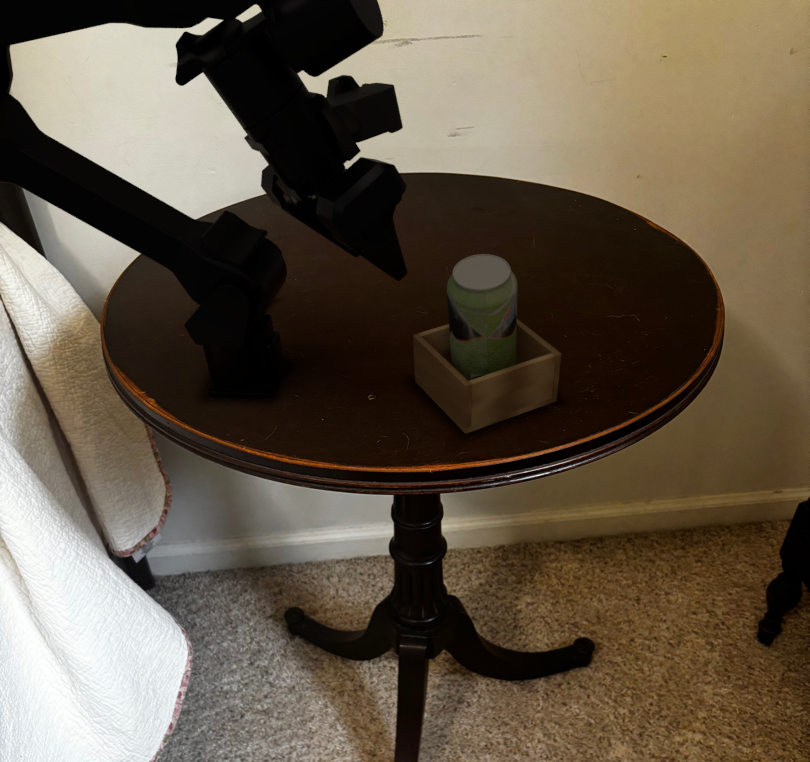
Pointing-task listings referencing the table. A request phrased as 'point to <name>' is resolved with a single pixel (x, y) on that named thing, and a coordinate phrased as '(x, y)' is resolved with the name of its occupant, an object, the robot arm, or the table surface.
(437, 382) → the holder
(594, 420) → the table surface
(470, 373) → the beverage can
